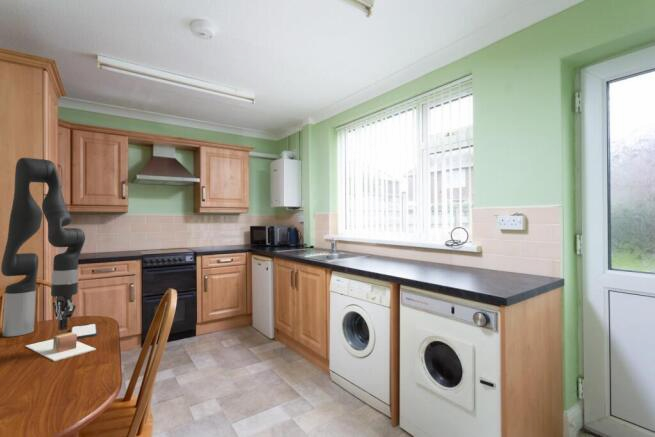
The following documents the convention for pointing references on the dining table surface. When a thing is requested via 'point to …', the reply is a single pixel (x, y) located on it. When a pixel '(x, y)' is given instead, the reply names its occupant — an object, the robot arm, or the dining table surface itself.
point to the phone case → (85, 331)
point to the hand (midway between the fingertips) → (62, 329)
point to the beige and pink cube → (64, 342)
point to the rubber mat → (47, 351)
